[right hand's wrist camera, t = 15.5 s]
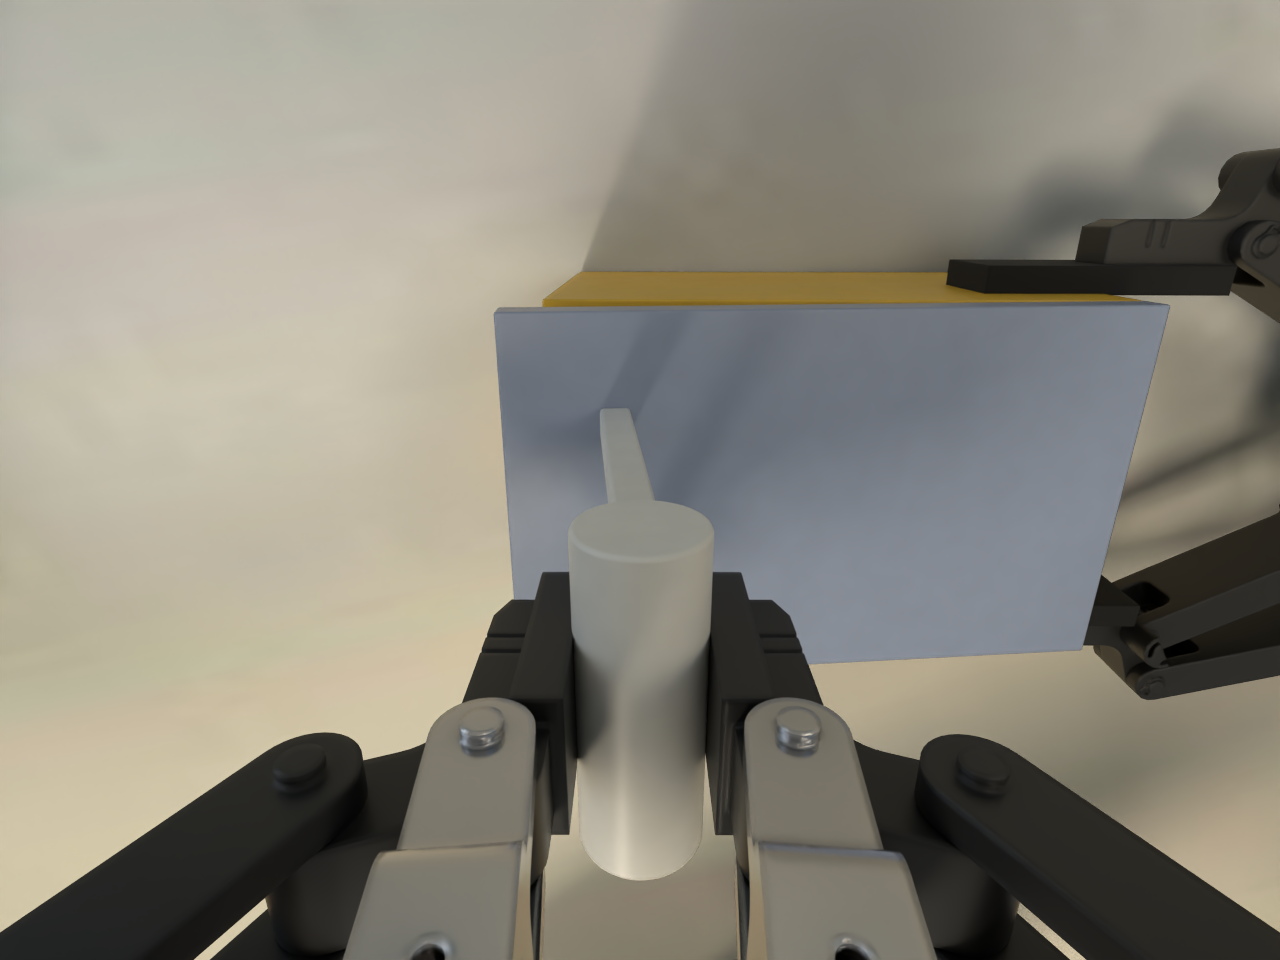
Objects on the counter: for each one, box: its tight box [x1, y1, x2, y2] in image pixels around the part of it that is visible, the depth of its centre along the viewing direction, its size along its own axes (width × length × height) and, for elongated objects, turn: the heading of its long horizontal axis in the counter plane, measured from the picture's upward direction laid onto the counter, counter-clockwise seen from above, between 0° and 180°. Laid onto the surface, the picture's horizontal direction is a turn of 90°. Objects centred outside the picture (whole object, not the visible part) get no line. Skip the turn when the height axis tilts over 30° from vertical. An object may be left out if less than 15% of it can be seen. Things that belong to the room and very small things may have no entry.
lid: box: [494, 301, 1170, 881], centre depth 14 cm, size 16×10×9 cm, turn 90°
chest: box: [543, 272, 1141, 307], centre depth 24 cm, size 15×10×10 cm, turn 90°
